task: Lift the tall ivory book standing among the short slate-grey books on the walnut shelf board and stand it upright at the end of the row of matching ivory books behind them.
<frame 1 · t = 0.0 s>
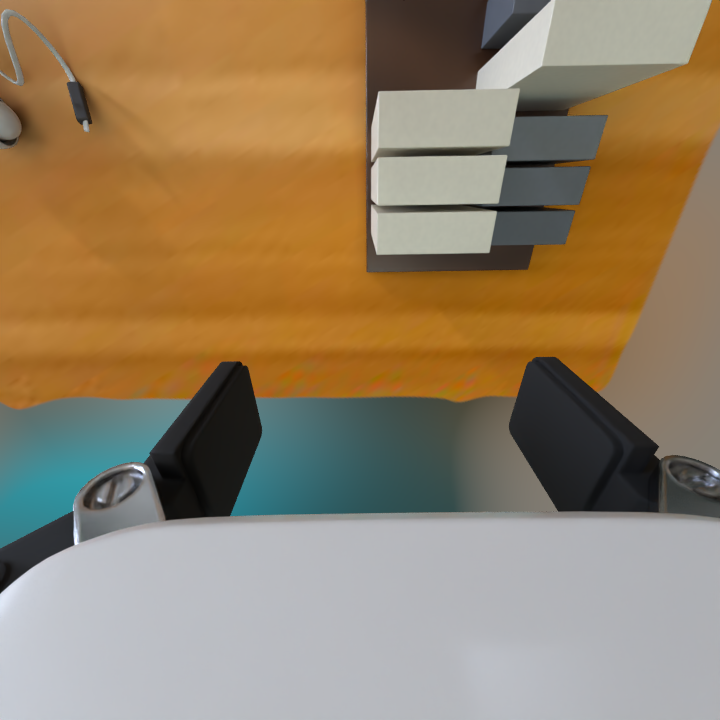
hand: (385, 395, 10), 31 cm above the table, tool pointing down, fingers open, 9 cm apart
grey books: (535, 106, 27), on the shelf board, point 5 cm above the table
ivory book: (521, 91, 29), point 1 cm above the table, touching shelf board
ivory books: (423, 182, 27), on the shelf board, point 8 cm above the table
shelf board: (460, 133, 32), on the table
clip-on lamp: (1, 79, 30), on the table
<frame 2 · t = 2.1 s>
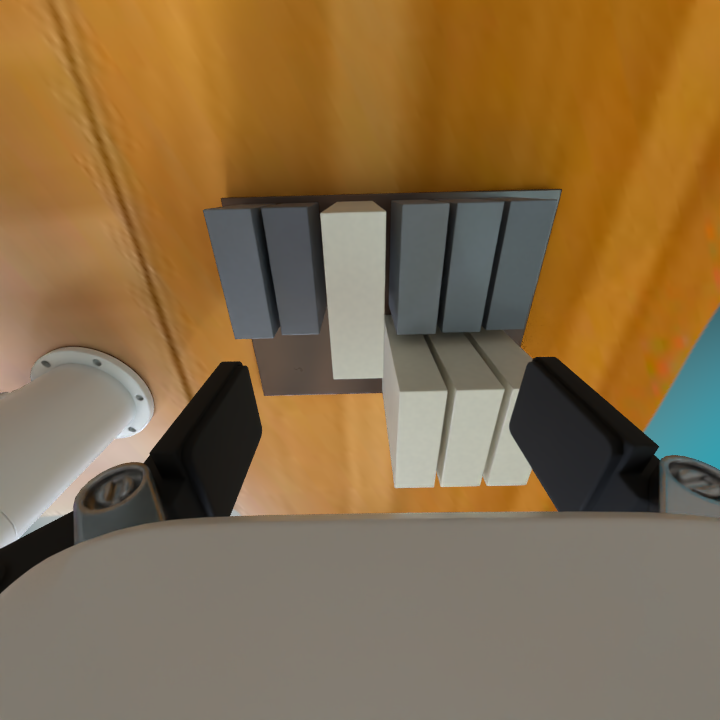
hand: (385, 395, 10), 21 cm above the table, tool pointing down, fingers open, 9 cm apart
grey books: (378, 265, 24), on the shelf board, point 5 cm above the table
ivory book: (356, 257, 27), point 1 cm above the table, touching shelf board
ivory books: (445, 388, 26), on the shelf board, point 8 cm above the table
shelf board: (387, 304, 31), on the table
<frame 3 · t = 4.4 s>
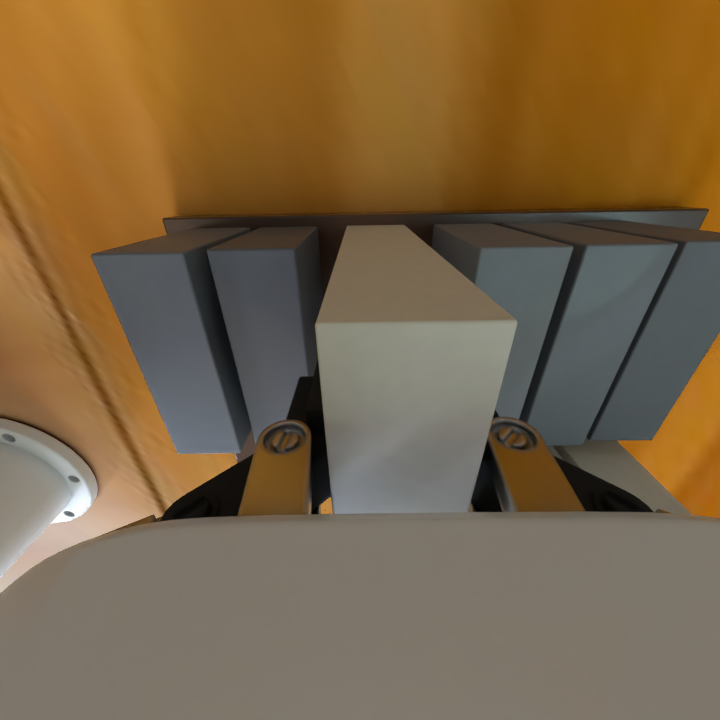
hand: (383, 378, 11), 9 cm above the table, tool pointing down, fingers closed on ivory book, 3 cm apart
grey books: (413, 331, 15), on the shelf board, point 5 cm above the table
ivory book: (374, 307, 18), point 2 cm above the table, touching gripper, shelf board
ivory books: (510, 513, 17), on the shelf board, point 8 cm above the table
shelf board: (415, 366, 22), on the table
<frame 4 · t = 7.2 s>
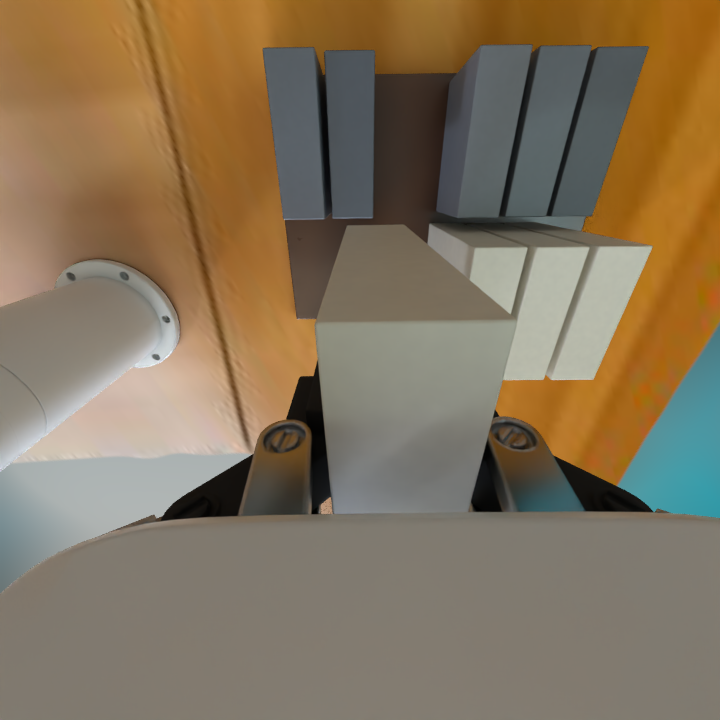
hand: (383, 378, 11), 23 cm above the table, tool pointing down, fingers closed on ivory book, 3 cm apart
grey books: (436, 147, 23), on the shelf board, point 5 cm above the table
ivory book: (374, 307, 18), point 15 cm above the table, touching gripper
ivory books: (500, 290, 25), on the shelf board, point 8 cm above the table
shelf board: (431, 215, 29), on the table
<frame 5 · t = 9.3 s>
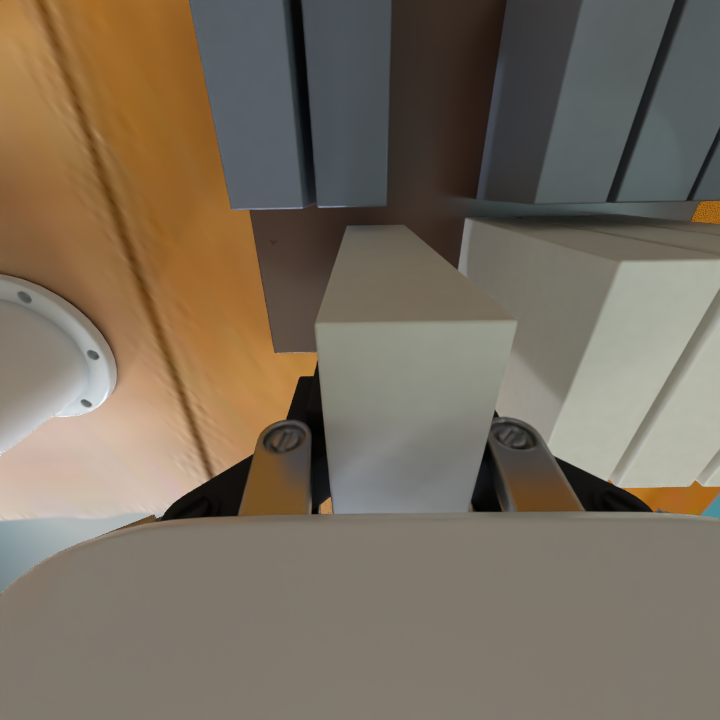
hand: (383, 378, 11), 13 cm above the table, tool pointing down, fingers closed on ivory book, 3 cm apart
grey books: (492, 86, 13), on the shelf board, point 5 cm above the table
ivory book: (374, 307, 18), point 5 cm above the table, touching gripper
ivory books: (587, 322, 16), on the shelf board, point 8 cm above the table
shelf board: (466, 206, 20), on the table
when the fingers open (9 cm above the table, at t = 10.5 s): ivory book stays where it is, resting on shelf board.
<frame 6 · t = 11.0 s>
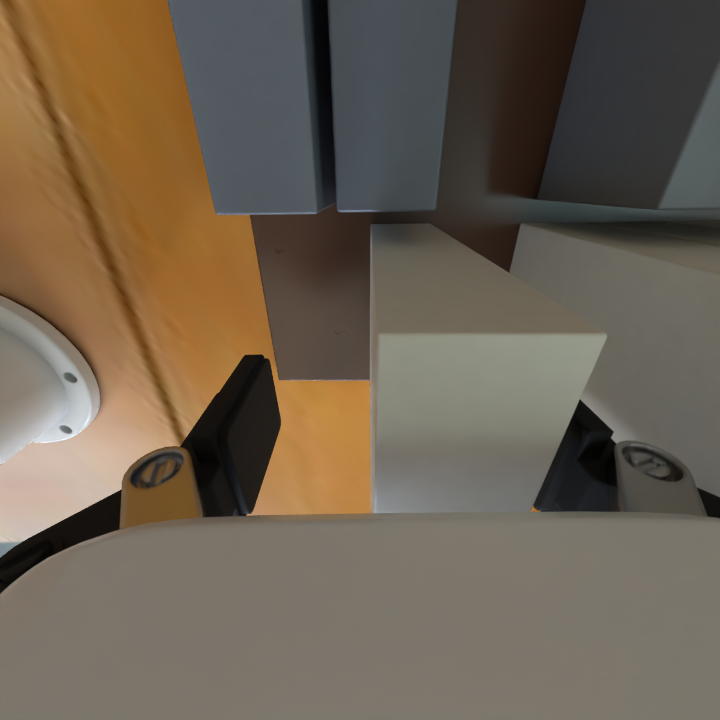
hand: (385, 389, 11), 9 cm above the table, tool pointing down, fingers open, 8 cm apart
grey books: (590, 39, 9), on the shelf board, point 5 cm above the table
ivory book: (396, 308, 17), point 1 cm above the table, touching shelf board
ivory books: (697, 368, 12), on the shelf board, point 8 cm above the table
shelf board: (519, 209, 16), on the table
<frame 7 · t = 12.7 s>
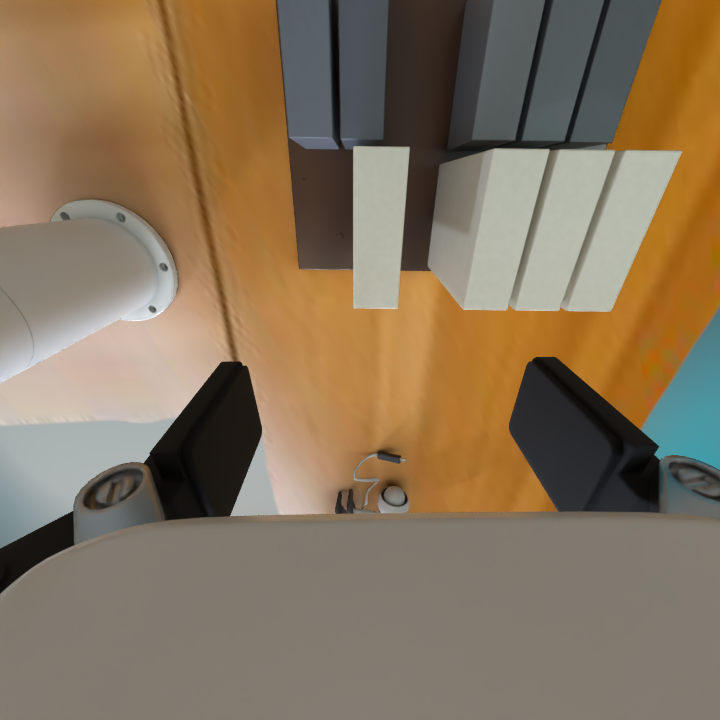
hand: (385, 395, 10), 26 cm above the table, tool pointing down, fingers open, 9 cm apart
grey books: (450, 68, 21), on the shelf board, point 5 cm above the table
ivory book: (372, 218, 29), point 1 cm above the table, touching shelf board
ivory books: (513, 227, 24), on the shelf board, point 8 cm above the table
shelf board: (441, 158, 28), on the table
clip-on lamp: (372, 483, 51), on the table
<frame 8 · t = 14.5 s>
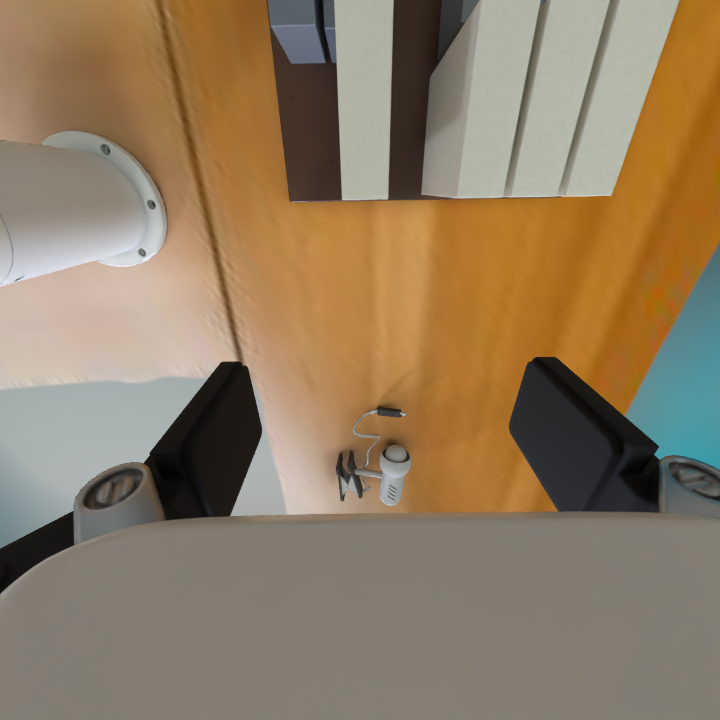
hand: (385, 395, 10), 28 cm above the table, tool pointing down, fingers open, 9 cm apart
ivory book: (362, 141, 29), point 1 cm above the table, touching shelf board
ivory books: (507, 127, 23), on the shelf board, point 8 cm above the table
shelf board: (432, 74, 27), on the table
clip-on lamp: (373, 443, 50), on the table
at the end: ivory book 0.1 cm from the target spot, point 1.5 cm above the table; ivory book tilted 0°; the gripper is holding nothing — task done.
